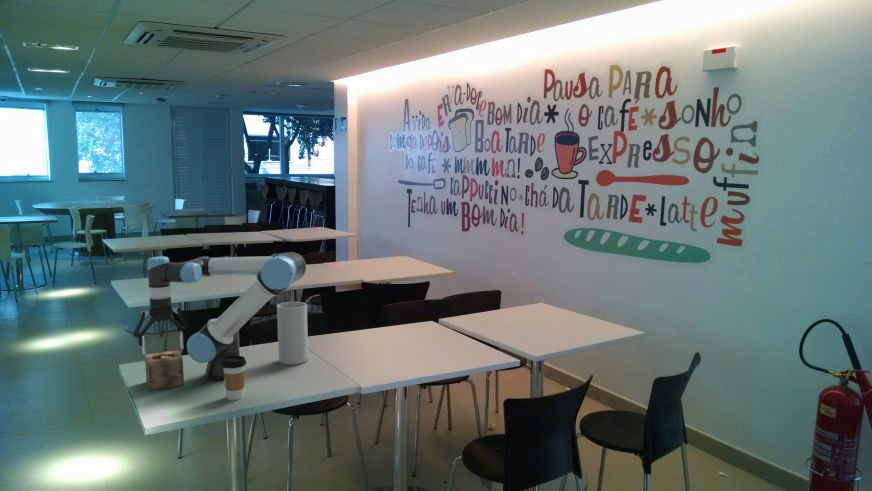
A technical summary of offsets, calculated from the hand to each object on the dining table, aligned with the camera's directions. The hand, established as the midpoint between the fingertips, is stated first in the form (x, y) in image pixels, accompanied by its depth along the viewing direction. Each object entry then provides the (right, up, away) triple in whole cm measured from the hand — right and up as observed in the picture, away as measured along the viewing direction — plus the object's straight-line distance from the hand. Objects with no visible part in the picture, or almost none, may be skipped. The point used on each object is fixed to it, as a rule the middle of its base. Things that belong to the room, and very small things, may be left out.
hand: (163, 350), depth 234 cm
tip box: (0, -13, +2) cm, 13 cm away
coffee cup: (+32, -15, -12) cm, 38 cm away
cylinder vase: (+44, -10, +30) cm, 54 cm away
